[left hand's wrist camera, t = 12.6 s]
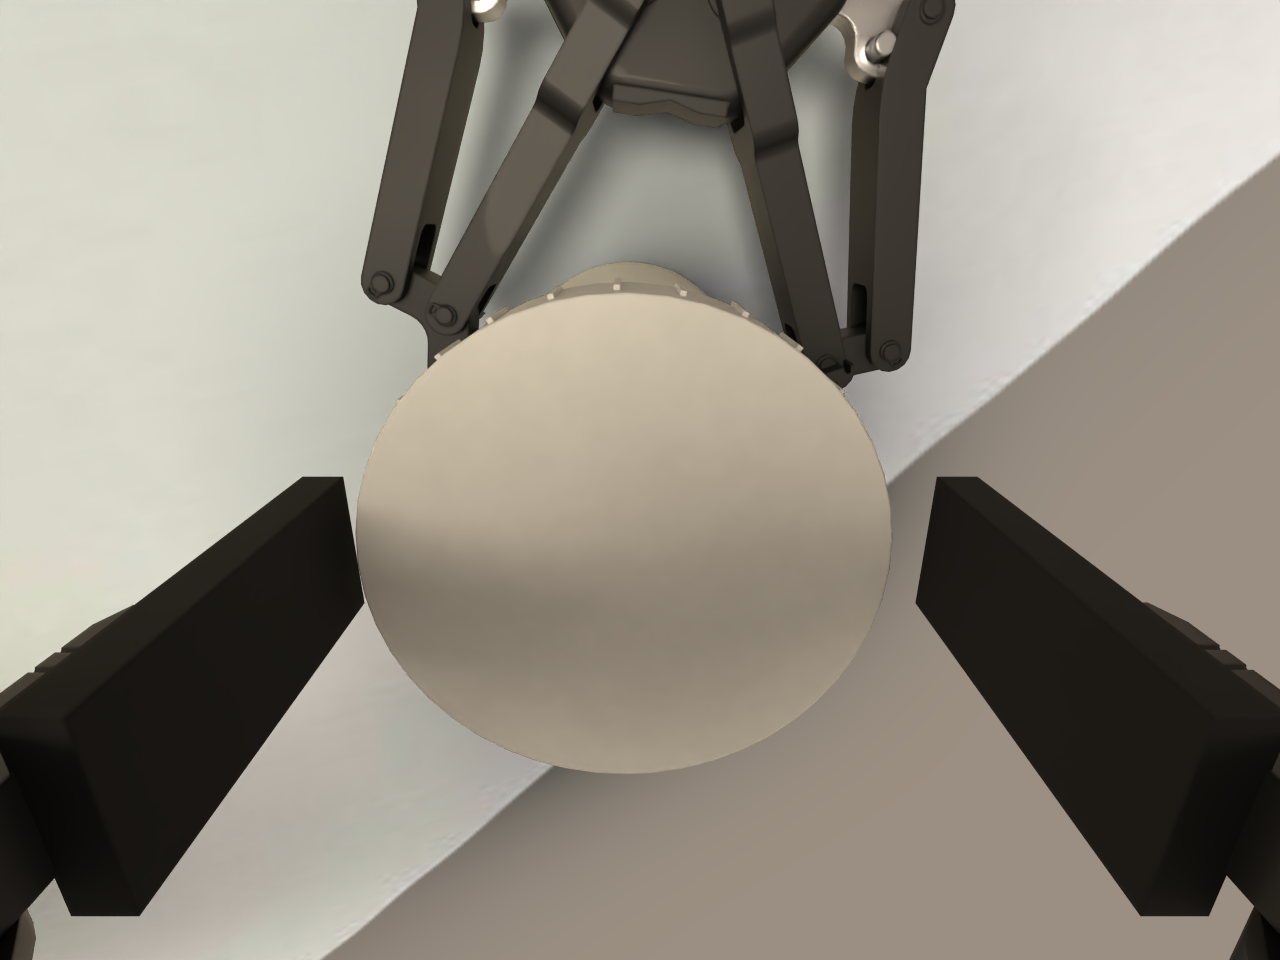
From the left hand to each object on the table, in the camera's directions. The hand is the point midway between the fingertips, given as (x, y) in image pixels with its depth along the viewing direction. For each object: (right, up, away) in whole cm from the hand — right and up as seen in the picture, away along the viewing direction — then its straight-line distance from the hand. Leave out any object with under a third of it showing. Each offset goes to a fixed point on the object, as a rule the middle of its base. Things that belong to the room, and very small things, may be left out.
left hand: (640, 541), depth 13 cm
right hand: (-1, -1, +11) cm, 11 cm away
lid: (0, 0, 0) cm, 1 cm away
